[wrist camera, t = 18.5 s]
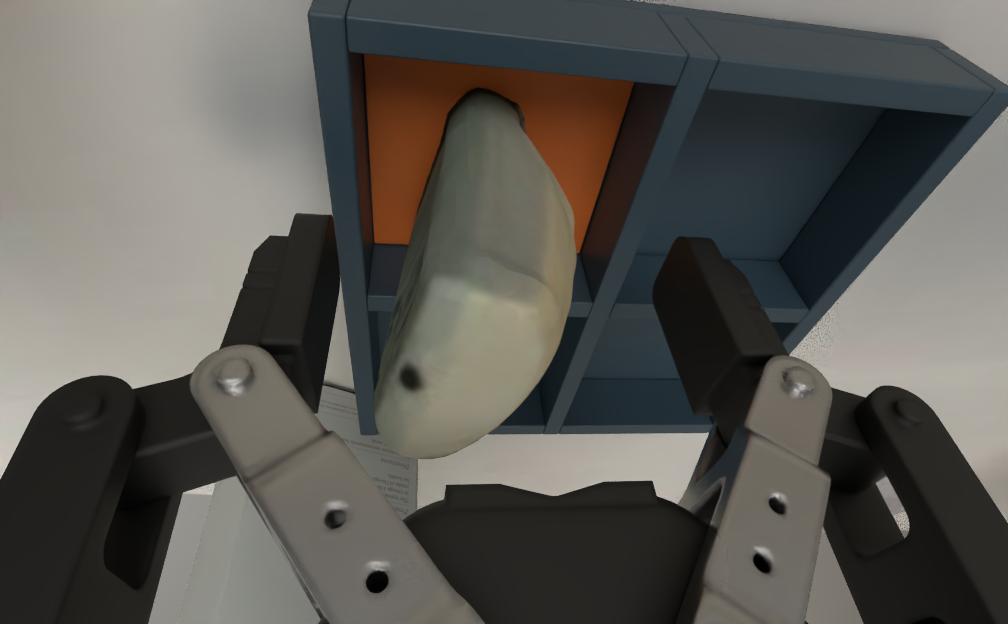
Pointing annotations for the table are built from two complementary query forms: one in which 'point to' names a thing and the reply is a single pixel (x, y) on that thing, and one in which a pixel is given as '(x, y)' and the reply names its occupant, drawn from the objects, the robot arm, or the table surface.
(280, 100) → the table surface
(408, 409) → the pale green curved piece
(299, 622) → the white packaging box
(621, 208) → the compartment grid tray
